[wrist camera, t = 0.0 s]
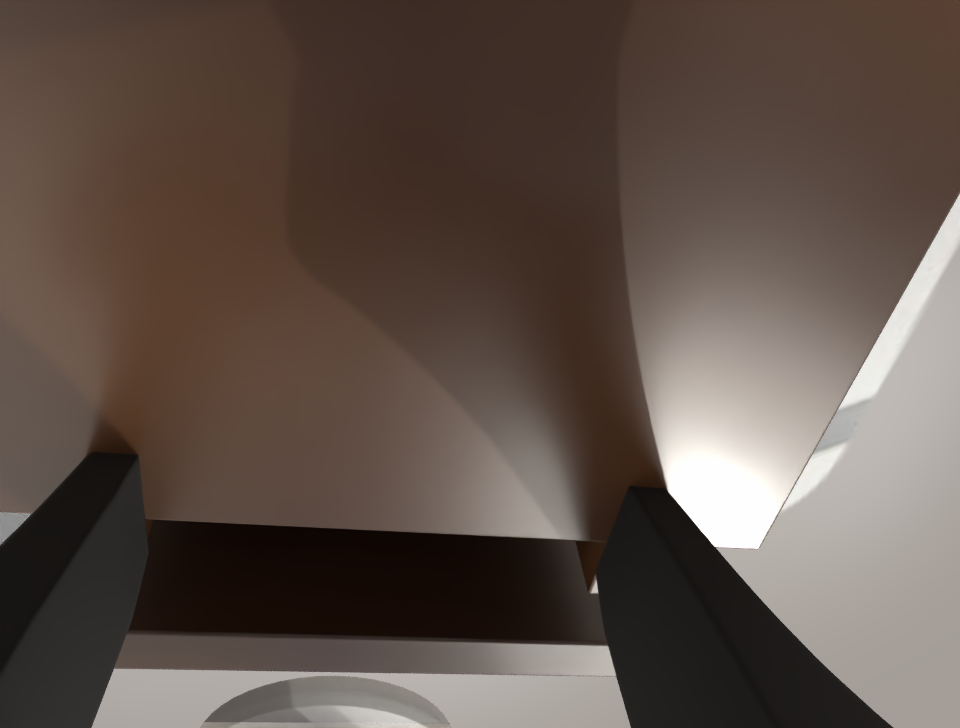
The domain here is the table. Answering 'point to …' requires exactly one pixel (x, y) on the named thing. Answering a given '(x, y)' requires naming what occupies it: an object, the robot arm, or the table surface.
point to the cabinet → (457, 250)
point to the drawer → (365, 602)
